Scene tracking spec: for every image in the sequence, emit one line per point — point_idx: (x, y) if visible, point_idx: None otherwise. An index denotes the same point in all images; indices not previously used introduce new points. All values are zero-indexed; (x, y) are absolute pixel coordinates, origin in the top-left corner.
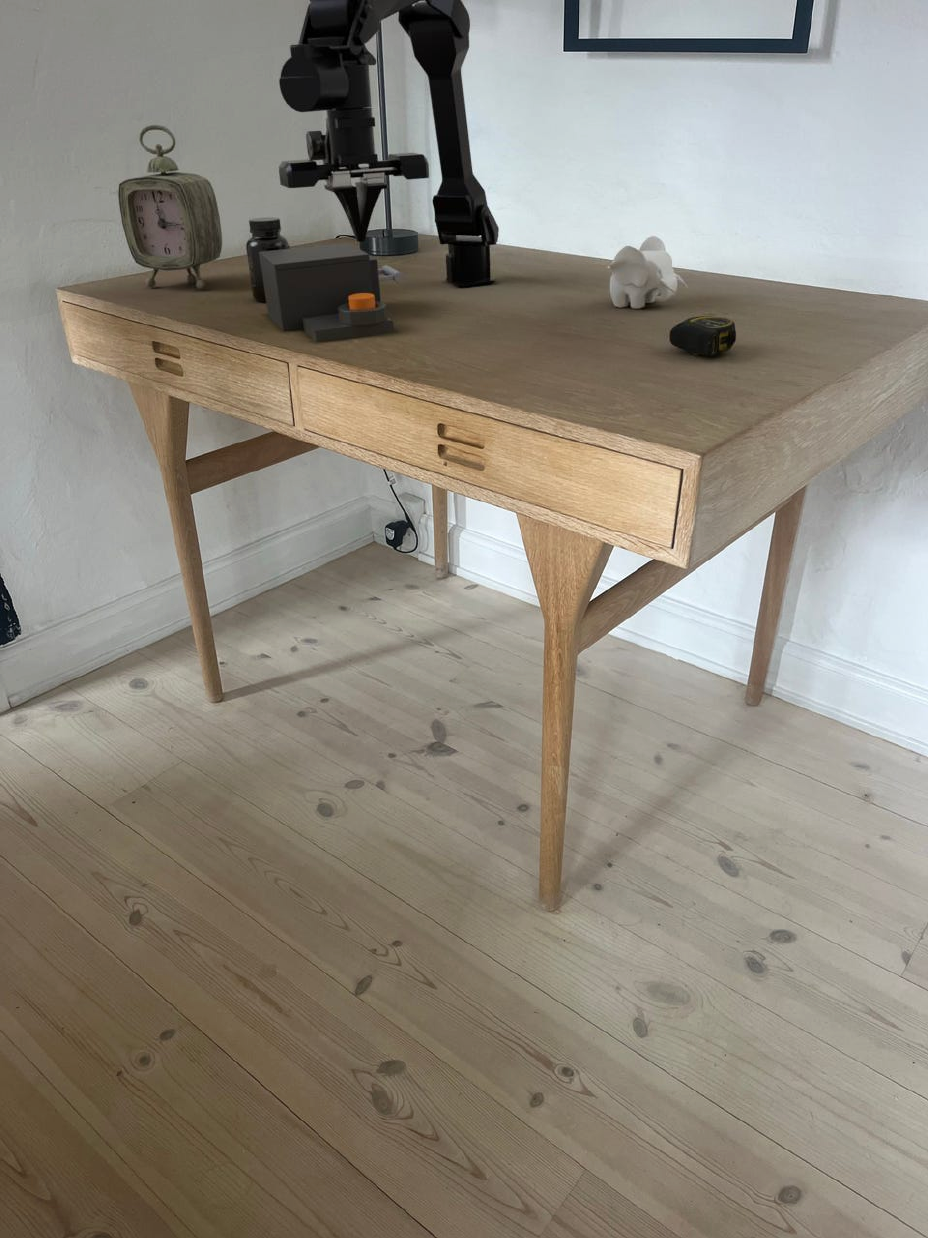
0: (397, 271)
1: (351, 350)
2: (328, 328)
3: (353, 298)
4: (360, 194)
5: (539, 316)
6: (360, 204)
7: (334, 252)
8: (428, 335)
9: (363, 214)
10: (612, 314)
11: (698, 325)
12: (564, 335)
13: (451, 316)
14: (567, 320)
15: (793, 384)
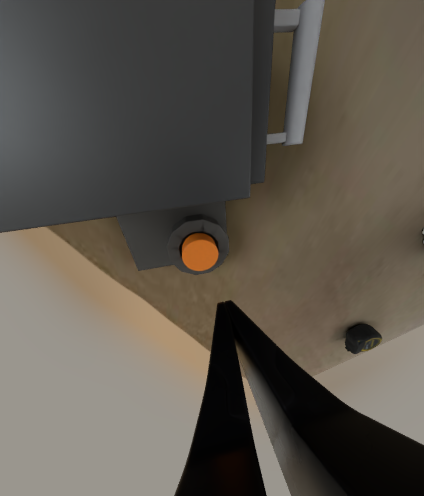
0: (301, 128)
1: (176, 291)
2: (154, 267)
3: (188, 267)
4: (295, 459)
5: (359, 236)
6: (268, 406)
7: (163, 106)
8: (250, 266)
9: (251, 389)
10: (398, 250)
11: (360, 348)
12: (330, 291)
13: (301, 203)
14: (363, 256)
15: (339, 360)
